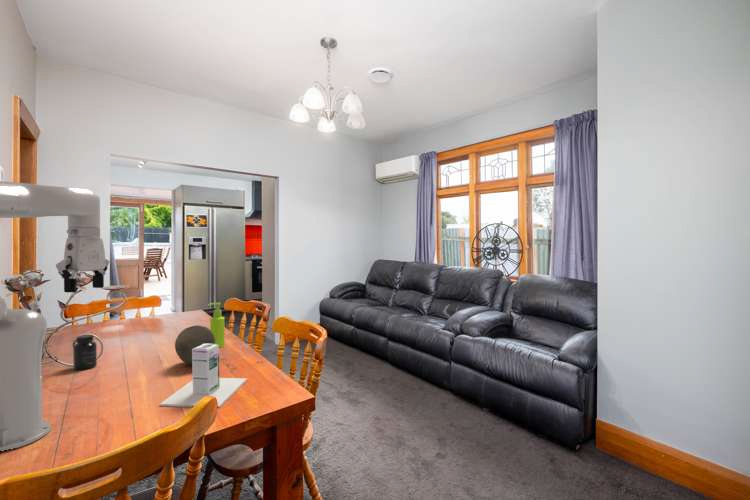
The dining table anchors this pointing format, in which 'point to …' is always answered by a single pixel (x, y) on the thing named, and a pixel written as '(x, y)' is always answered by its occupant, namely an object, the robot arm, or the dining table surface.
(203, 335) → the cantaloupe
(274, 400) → the dining table surface
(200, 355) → the syrup box
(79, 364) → the supplement bottle
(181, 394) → the mat
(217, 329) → the soap dispenser
